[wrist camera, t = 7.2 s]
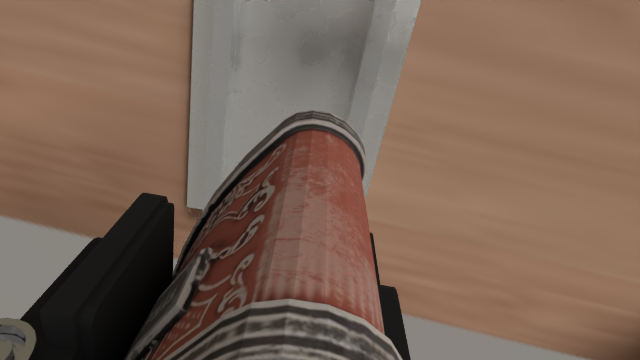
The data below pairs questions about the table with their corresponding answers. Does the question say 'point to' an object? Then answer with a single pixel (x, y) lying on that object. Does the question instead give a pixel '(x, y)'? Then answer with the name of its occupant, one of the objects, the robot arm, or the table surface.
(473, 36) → the table surface
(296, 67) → the track
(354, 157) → the lighter
